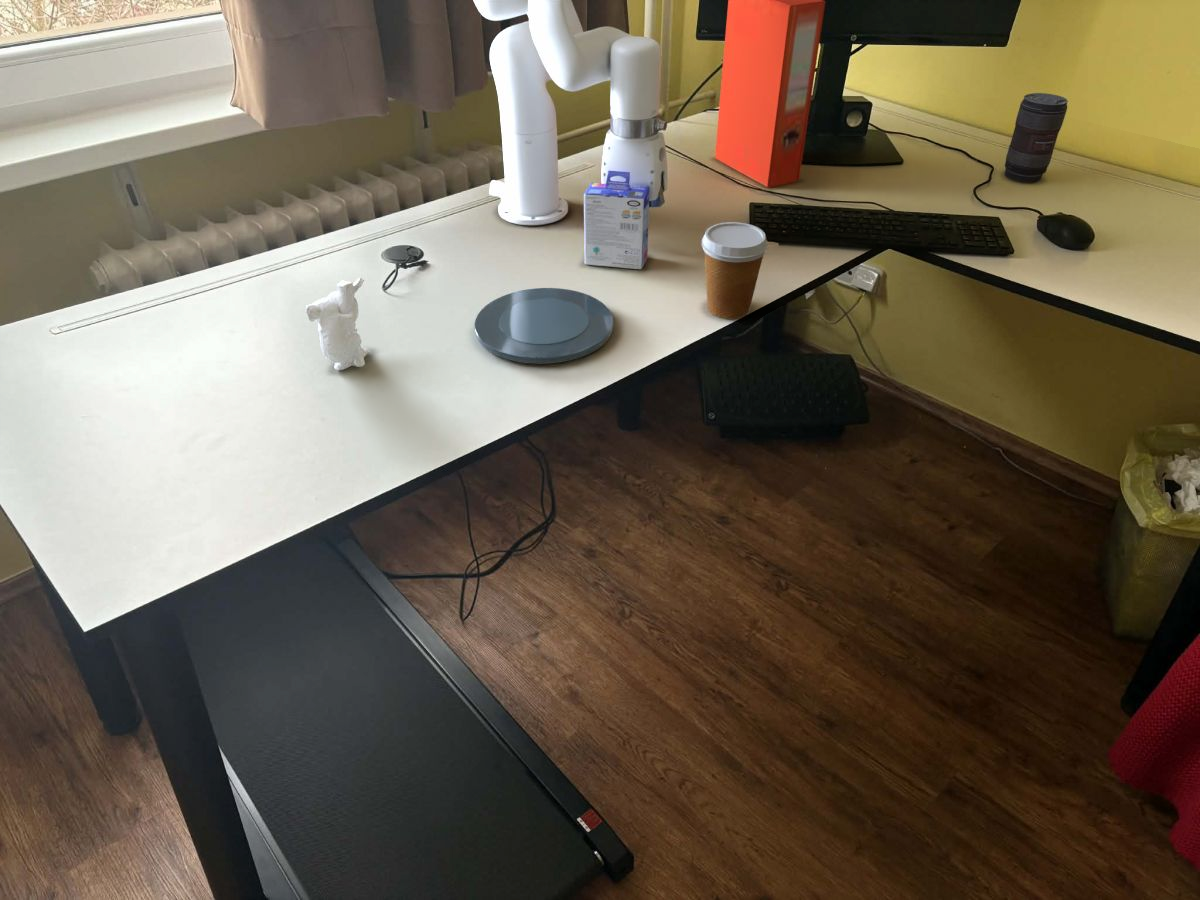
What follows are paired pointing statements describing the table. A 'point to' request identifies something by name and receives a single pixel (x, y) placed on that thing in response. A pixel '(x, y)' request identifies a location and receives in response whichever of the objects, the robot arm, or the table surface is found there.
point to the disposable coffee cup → (732, 267)
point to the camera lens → (1034, 136)
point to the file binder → (767, 86)
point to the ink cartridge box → (616, 223)
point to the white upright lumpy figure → (339, 326)
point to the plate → (543, 325)
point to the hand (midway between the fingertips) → (632, 234)
